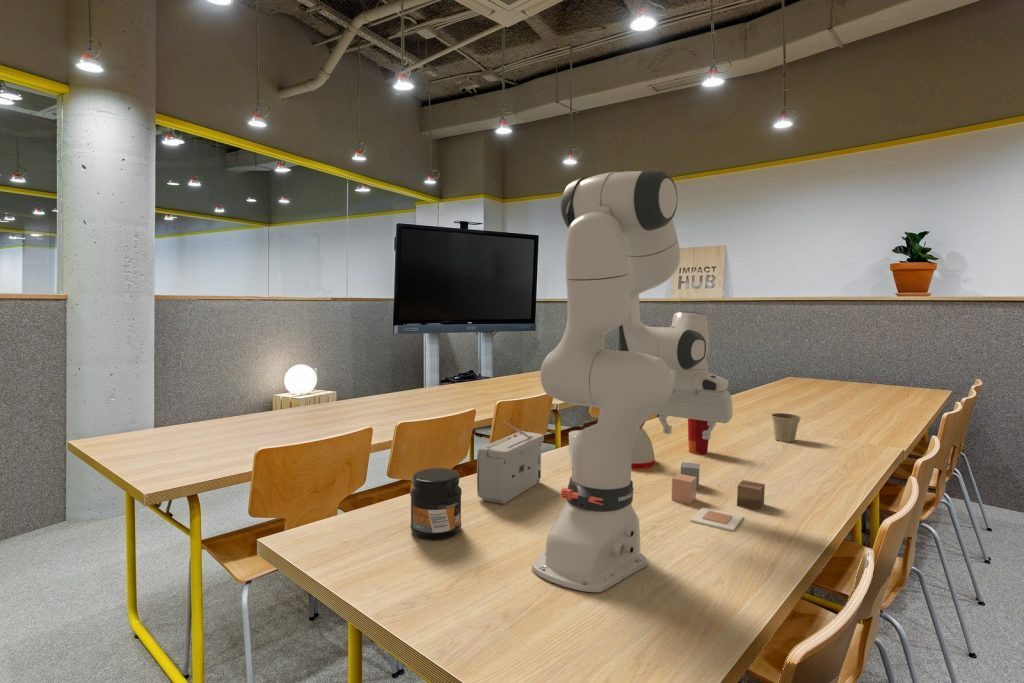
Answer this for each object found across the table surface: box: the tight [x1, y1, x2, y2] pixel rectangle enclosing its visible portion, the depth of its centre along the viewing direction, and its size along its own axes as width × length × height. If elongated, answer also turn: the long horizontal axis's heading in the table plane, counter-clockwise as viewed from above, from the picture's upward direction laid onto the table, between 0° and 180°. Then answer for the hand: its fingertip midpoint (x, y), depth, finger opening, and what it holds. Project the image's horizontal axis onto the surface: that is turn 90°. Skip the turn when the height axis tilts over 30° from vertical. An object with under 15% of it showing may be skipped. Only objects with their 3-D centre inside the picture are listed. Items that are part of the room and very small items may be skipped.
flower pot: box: [770, 412, 802, 443], centre depth 194 cm, size 9×9×9 cm
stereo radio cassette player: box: [476, 420, 545, 505], centre depth 140 cm, size 21×8×20 cm, turn 150°
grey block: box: [680, 461, 701, 491], centre depth 146 cm, size 4×4×6 cm
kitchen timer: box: [631, 421, 656, 470], centre depth 166 cm, size 14×14×15 cm
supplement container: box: [409, 467, 463, 541], centre depth 116 cm, size 10×10×12 cm
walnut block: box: [736, 479, 766, 512], centre depth 132 cm, size 5×5×5 cm
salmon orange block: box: [671, 473, 697, 505], centre depth 136 cm, size 4×4×6 cm
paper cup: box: [687, 419, 710, 456], centre depth 178 cm, size 8×8×14 cm
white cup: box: [568, 429, 583, 470], centre depth 160 cm, size 8×8×10 cm
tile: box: [689, 506, 744, 532], centre depth 123 cm, size 9×9×1 cm
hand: (686, 436), depth 135 cm, fingers open, 8 cm apart
